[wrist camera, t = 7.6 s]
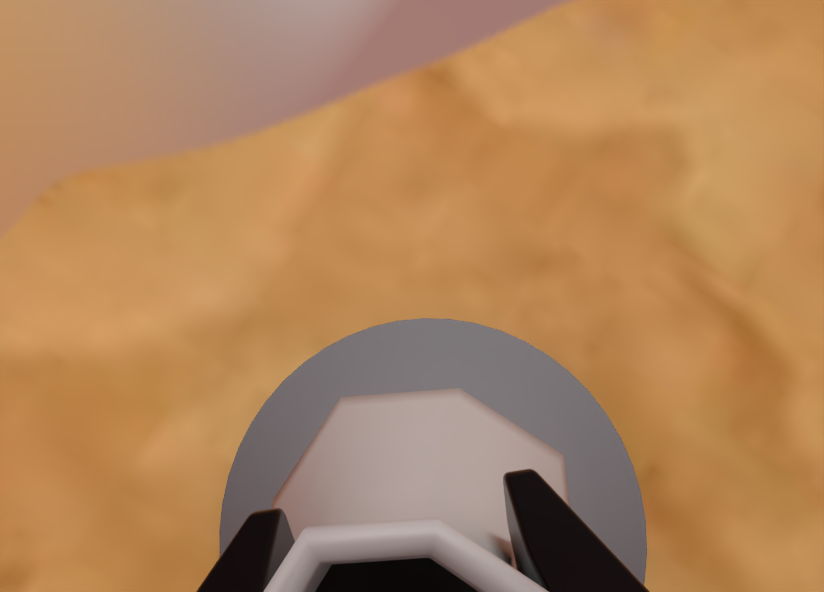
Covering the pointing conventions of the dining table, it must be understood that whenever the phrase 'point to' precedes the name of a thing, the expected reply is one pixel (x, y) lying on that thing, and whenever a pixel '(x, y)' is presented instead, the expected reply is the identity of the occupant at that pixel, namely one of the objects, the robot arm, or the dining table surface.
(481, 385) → the slate coaster
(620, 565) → the robot arm
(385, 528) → the flask
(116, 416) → the dining table surface
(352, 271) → the dining table surface
